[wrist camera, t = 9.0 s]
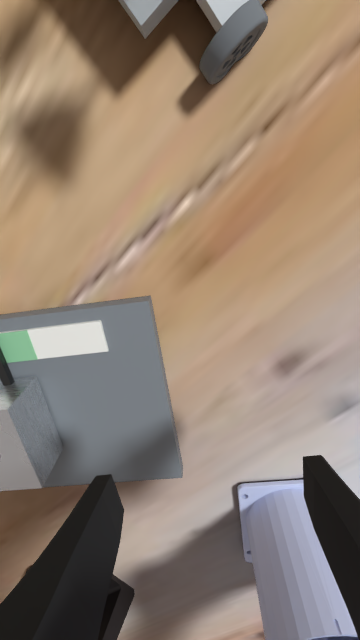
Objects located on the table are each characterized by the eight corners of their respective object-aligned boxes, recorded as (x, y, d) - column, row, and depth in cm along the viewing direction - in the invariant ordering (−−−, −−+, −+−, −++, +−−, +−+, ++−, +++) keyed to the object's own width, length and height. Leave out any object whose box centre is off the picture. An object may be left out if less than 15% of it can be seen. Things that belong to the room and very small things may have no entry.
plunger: (63, 447, 21) (42, 488, 18) (23, 450, 21) (-4, 491, 18) (18, 331, 18) (-17, 357, 15) (-28, 336, 18) (-72, 364, 15)
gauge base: (182, 466, 23) (180, 525, 19) (-32, 482, 25) (-77, 539, 20) (150, 295, 18) (137, 325, 14) (-119, 329, 19) (-204, 365, 15)
